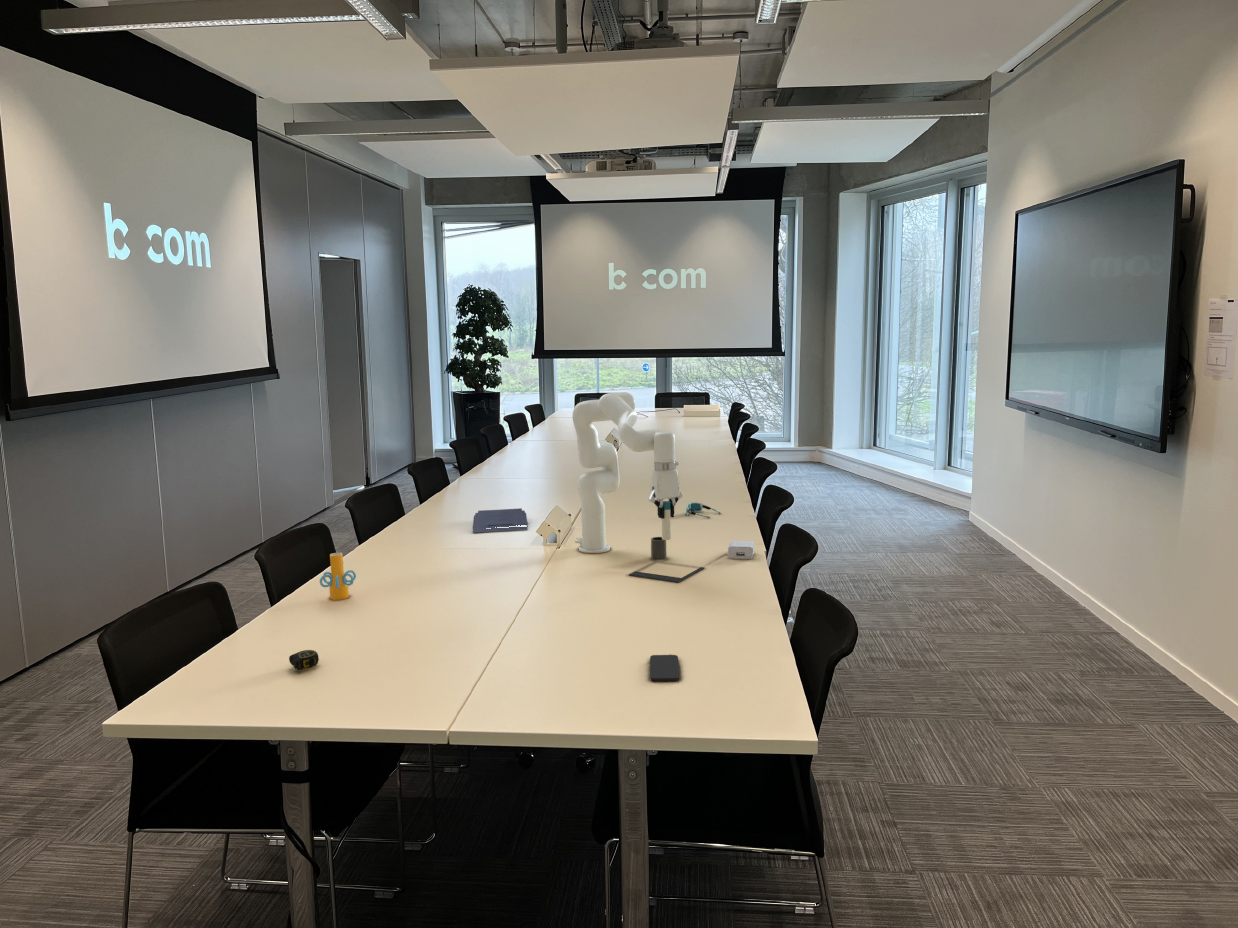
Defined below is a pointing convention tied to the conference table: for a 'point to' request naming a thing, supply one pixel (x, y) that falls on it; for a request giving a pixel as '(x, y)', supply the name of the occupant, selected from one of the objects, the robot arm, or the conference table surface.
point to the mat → (664, 578)
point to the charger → (741, 550)
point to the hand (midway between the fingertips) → (666, 516)
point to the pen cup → (658, 548)
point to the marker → (666, 521)
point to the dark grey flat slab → (499, 520)
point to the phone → (664, 668)
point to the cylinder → (338, 578)
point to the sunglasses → (697, 508)
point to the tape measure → (304, 659)
